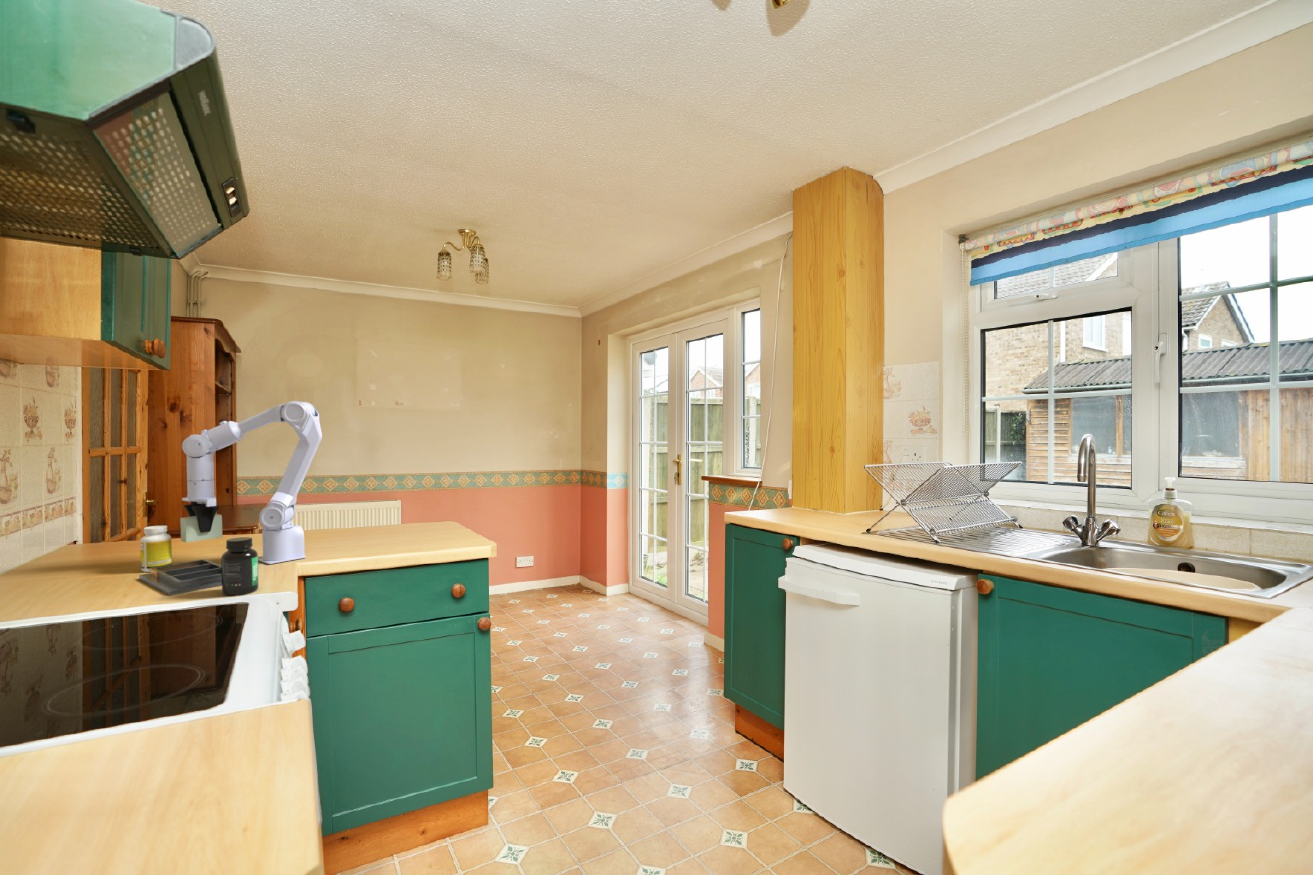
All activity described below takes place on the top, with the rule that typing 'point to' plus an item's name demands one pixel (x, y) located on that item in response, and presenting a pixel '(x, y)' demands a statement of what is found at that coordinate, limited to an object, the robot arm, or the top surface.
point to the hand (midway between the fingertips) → (202, 531)
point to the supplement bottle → (239, 567)
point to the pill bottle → (155, 548)
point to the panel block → (192, 531)
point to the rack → (184, 576)
